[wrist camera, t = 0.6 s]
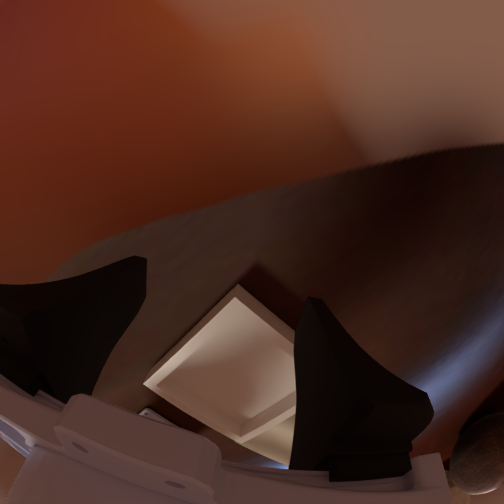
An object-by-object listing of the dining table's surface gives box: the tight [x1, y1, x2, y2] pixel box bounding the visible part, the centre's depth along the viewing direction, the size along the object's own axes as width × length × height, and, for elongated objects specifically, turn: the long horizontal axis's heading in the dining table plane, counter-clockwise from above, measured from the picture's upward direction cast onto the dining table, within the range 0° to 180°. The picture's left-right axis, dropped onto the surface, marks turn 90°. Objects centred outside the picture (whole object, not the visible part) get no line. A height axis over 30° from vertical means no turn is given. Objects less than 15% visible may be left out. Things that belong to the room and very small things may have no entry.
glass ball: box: [449, 412, 504, 494], centre depth 23 cm, size 15×15×15 cm
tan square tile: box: [234, 414, 295, 466], centre depth 26 cm, size 16×15×6 cm
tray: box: [143, 284, 296, 444], centre depth 25 cm, size 14×13×2 cm
